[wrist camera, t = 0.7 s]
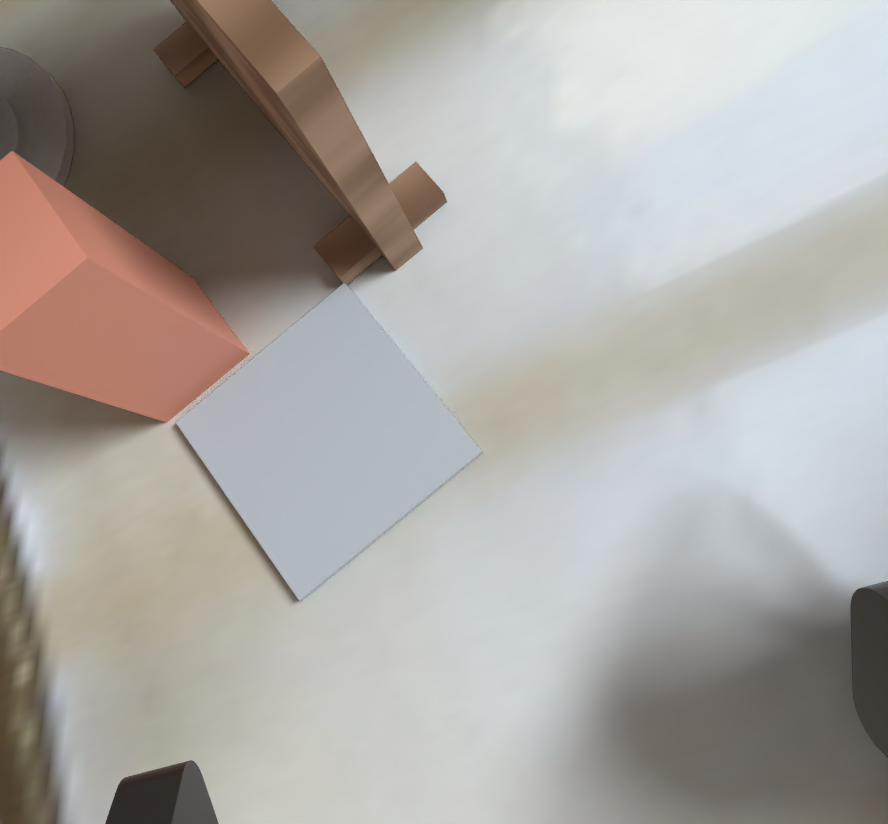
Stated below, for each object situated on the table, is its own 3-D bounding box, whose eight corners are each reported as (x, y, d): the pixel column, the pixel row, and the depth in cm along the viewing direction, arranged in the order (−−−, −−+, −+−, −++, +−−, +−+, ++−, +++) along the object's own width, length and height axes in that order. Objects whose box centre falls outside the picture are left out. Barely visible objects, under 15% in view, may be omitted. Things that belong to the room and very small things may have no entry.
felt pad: (180, 424, 36) (175, 422, 35) (346, 285, 36) (344, 282, 35) (302, 600, 33) (299, 600, 33) (483, 452, 33) (481, 451, 33)
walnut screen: (153, 49, 40) (-71, -212, 26) (243, -27, 40) (65, -329, 26) (358, 301, 35) (216, 144, 22) (460, 216, 35) (381, 5, 22)
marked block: (192, 276, 37) (11, 150, 25) (249, 353, 36) (87, 257, 24) (109, 346, 37) (-108, 252, 26) (163, 425, 36) (-39, 363, 24)
